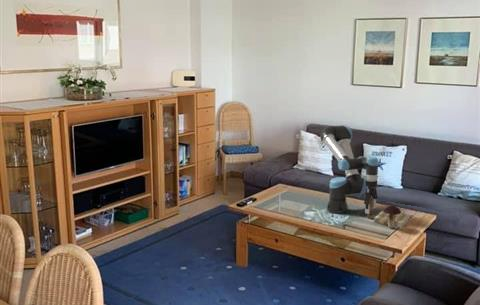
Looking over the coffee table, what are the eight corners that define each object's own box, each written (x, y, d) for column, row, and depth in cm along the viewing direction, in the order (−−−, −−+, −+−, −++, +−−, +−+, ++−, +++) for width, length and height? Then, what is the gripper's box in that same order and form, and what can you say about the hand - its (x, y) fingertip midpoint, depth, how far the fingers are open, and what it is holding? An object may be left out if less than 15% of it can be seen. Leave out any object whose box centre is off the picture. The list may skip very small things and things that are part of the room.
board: (373, 222, 327) (374, 218, 327) (382, 214, 342) (382, 210, 341) (401, 227, 318) (401, 222, 317) (408, 219, 332) (409, 214, 332)
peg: (366, 218, 335) (366, 198, 332) (368, 216, 338) (368, 197, 336) (372, 219, 333) (372, 199, 330) (374, 217, 336) (374, 197, 333)
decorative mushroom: (380, 225, 321) (381, 203, 318) (396, 224, 322) (397, 202, 319) (386, 231, 311) (387, 208, 308) (403, 230, 312) (404, 207, 309)
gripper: (371, 185, 318) (369, 216, 322) (382, 176, 339) (381, 206, 343) (359, 183, 322) (358, 214, 326) (372, 175, 343) (371, 205, 347)
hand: (370, 210), depth 334 cm, fingers open, 13 cm apart
